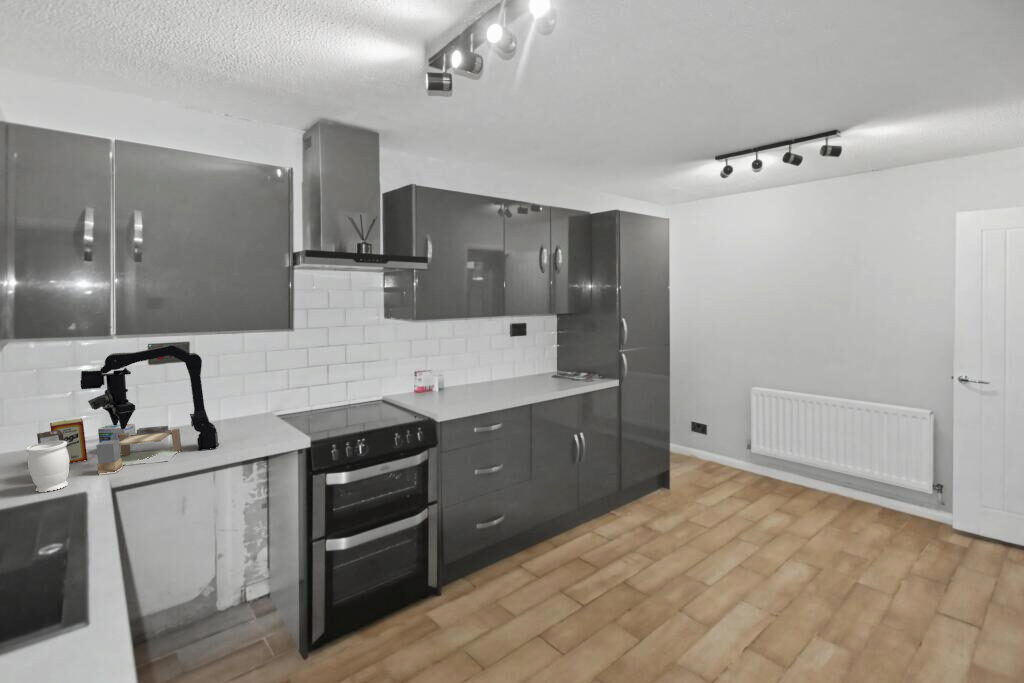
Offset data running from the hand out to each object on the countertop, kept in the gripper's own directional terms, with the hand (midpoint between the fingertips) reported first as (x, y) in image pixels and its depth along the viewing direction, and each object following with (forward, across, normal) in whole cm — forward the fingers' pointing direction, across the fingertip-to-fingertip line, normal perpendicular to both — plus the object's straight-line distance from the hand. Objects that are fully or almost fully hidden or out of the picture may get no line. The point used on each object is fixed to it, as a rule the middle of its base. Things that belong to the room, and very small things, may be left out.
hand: (119, 427), depth 199 cm
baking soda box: (+15, -19, -11) cm, 27 cm away
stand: (+14, +2, +8) cm, 16 cm away
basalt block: (+10, +9, -6) cm, 14 cm away
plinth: (+14, +9, -6) cm, 17 cm away
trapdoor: (+6, +1, +9) cm, 11 cm away
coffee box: (+15, -2, -19) cm, 24 cm away
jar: (+15, +11, -22) cm, 29 cm away
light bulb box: (+14, -18, +4) cm, 23 cm away
